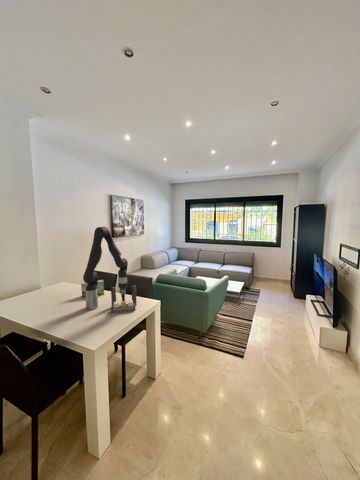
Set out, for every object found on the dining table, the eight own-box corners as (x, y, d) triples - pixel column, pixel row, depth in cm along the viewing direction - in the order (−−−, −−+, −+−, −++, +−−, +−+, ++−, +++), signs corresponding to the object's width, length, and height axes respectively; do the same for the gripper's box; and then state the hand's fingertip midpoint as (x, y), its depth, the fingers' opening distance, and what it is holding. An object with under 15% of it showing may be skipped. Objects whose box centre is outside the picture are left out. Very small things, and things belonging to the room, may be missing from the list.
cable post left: (111, 308, 176) (110, 288, 174) (112, 306, 180) (111, 287, 178) (116, 307, 177) (115, 288, 175) (116, 305, 181) (115, 286, 179)
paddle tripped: (121, 307, 169) (120, 303, 169) (121, 305, 173) (121, 301, 173) (125, 306, 170) (125, 302, 170) (126, 304, 174) (125, 300, 173)
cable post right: (132, 305, 180) (131, 287, 178) (132, 304, 184) (131, 285, 182) (136, 305, 181) (135, 286, 179) (136, 303, 185) (135, 285, 183)
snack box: (81, 297, 199) (81, 283, 197) (82, 295, 204) (81, 281, 202) (104, 294, 207) (103, 281, 205) (104, 292, 212) (103, 279, 210)
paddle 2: (128, 306, 170) (128, 302, 170) (128, 304, 174) (128, 300, 174) (132, 305, 171) (132, 302, 171) (133, 303, 175) (132, 300, 175)
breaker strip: (111, 313, 166) (111, 308, 166) (112, 309, 173) (112, 304, 172) (135, 310, 171) (135, 305, 170) (135, 307, 177) (135, 302, 177)
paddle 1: (113, 307, 168) (113, 303, 167) (114, 305, 172) (114, 302, 171) (118, 307, 169) (118, 303, 168) (119, 305, 172) (118, 301, 172)
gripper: (118, 279, 175) (119, 298, 176) (117, 284, 162) (118, 304, 164) (127, 279, 176) (128, 297, 178) (126, 283, 163) (127, 303, 165)
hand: (123, 300), depth 171 cm, fingers closed
